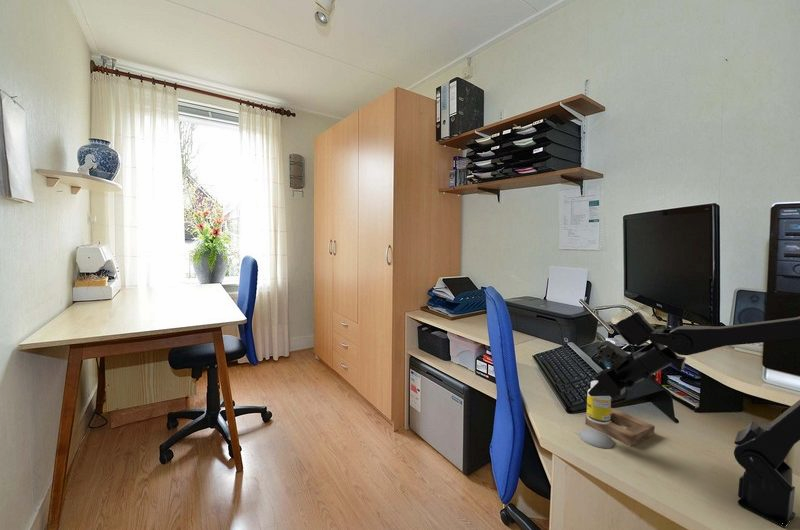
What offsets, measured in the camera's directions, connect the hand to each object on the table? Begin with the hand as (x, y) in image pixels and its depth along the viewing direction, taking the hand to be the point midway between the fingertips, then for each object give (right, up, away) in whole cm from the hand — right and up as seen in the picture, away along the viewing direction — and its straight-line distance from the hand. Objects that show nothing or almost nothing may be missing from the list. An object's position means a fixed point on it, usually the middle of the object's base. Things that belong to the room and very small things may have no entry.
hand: (593, 391), depth 89 cm
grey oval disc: (0, -13, 0) cm, 13 cm away
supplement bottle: (+1, -7, -1) cm, 7 cm away
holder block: (+10, -13, +5) cm, 17 cm away
